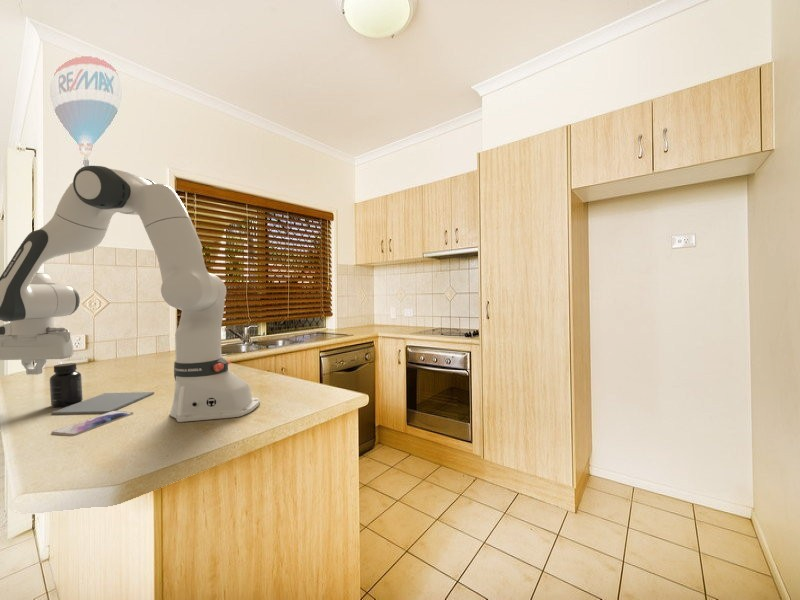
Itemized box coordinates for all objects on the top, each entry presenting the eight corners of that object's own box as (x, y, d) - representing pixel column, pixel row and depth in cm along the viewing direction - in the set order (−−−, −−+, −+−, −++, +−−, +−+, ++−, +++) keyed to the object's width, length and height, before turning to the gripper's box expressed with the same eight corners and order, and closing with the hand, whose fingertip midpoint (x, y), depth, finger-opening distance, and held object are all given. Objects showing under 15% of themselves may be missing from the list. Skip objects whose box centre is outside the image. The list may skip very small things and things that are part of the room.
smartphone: (135, 412, 93) (73, 434, 79) (135, 415, 93) (74, 438, 79) (113, 410, 95) (49, 432, 80) (113, 413, 95) (49, 435, 80)
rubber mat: (154, 393, 112) (154, 392, 112) (109, 413, 94) (109, 411, 94) (105, 394, 111) (105, 393, 111) (51, 414, 93) (51, 412, 93)
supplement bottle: (69, 400, 106) (68, 361, 105) (88, 401, 105) (87, 362, 104) (43, 407, 99) (42, 366, 99) (63, 408, 98) (62, 367, 98)
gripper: (78, 326, 104) (80, 371, 105) (9, 327, 104) (10, 372, 104) (59, 328, 98) (60, 376, 98) (-16, 329, 97) (-14, 377, 98)
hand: (34, 374), depth 101 cm, fingers closed
